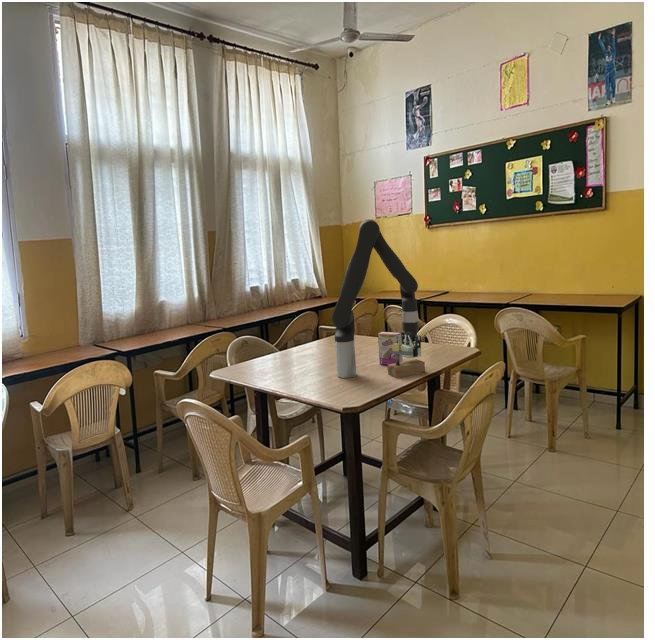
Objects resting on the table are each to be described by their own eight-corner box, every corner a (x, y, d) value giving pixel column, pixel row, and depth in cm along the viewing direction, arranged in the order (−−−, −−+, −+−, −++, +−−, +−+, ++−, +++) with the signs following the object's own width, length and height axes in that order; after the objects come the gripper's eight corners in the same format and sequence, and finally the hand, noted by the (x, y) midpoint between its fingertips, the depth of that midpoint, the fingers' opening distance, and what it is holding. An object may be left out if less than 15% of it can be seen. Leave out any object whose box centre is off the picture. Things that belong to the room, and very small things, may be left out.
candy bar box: (379, 365, 259) (377, 333, 256) (383, 362, 263) (381, 331, 260) (399, 366, 252) (397, 334, 250) (403, 364, 256) (401, 332, 254)
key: (393, 363, 239) (392, 342, 238) (413, 365, 232) (412, 344, 230) (391, 364, 238) (389, 343, 236) (411, 366, 230) (410, 345, 229)
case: (388, 374, 239) (387, 364, 238) (416, 369, 245) (416, 359, 245) (395, 378, 233) (395, 367, 232) (425, 372, 239) (424, 361, 238)
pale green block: (401, 356, 241) (401, 345, 240) (414, 353, 244) (413, 343, 243) (408, 358, 235) (408, 348, 235) (421, 356, 238) (420, 345, 237)
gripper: (395, 319, 242) (396, 353, 244) (411, 323, 229) (413, 359, 231) (408, 317, 245) (409, 351, 247) (425, 321, 232) (427, 357, 234)
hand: (411, 355), depth 239 cm, fingers closed on pale green block, 6 cm apart
